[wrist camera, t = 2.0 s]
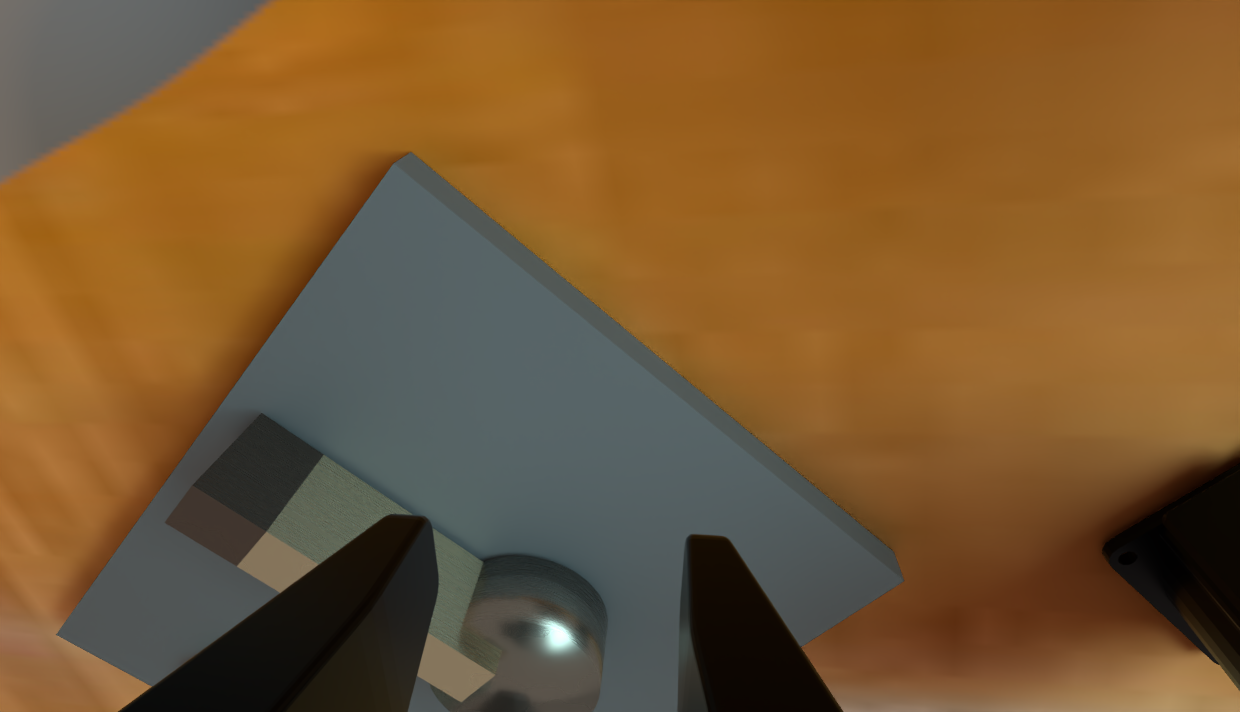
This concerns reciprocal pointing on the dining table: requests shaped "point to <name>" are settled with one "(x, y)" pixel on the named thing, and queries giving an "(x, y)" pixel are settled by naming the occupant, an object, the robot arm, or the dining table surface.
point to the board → (492, 451)
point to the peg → (468, 588)
